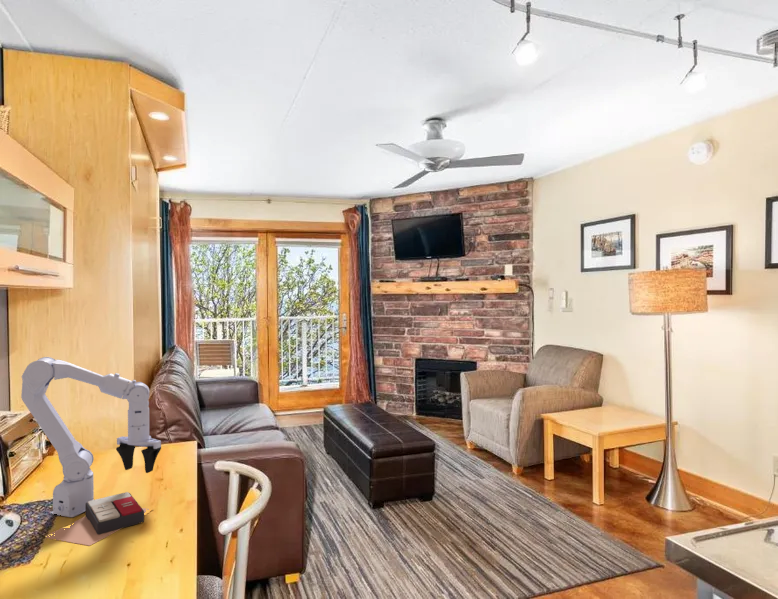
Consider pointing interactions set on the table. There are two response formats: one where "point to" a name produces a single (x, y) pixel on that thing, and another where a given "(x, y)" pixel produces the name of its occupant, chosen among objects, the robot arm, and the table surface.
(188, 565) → the table surface
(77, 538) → the mat
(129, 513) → the black white red box
